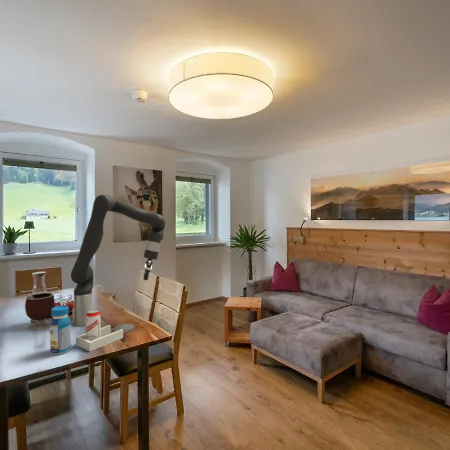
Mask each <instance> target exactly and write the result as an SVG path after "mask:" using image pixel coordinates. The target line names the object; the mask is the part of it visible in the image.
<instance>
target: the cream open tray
mask: <svg viewBox="0 0 450 450" xmlns="http://www.w3.org/2000/svg"><path fill="white" fill-rule="evenodd" d="M111 328H112V327H111V324H108V325H105V326H103V327H100V330H101V337H100V338H98V339H95V340H93V341H89V340H86V333H83V334H81V335H78V336H75V346H77V347H79V348H81V349H82V350H86V351H88V352H92V351H95V350H97V349H100V348H102V347H104V346H106V345H108V344H111V343H113V342H117V341H119V340H121V339H123V338H124V333H123V330H122V329H121V330H118V331H116V332H114V331H113V332H112V330H111Z"/></svg>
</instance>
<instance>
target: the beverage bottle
mask: <svg viewBox="0 0 450 450" xmlns="http://www.w3.org/2000/svg"><path fill="white" fill-rule="evenodd" d="M51 317H52V318H51V320H50V321H51V322H50V326H51V327H49V341H50V343H49V344H50V354H51V355H54V356H55V355H56V356H58V355H63V354H66V353H68V352H69V351H71V349H72V345H71V343H72V342H71V341H72V340H71V339H72V337H71V336H72V333H71V332H72V331H71V330H72V326H71V318H70V317H69V306H67V305H57V306H55V307H54V308H52V310H51Z"/></svg>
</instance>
